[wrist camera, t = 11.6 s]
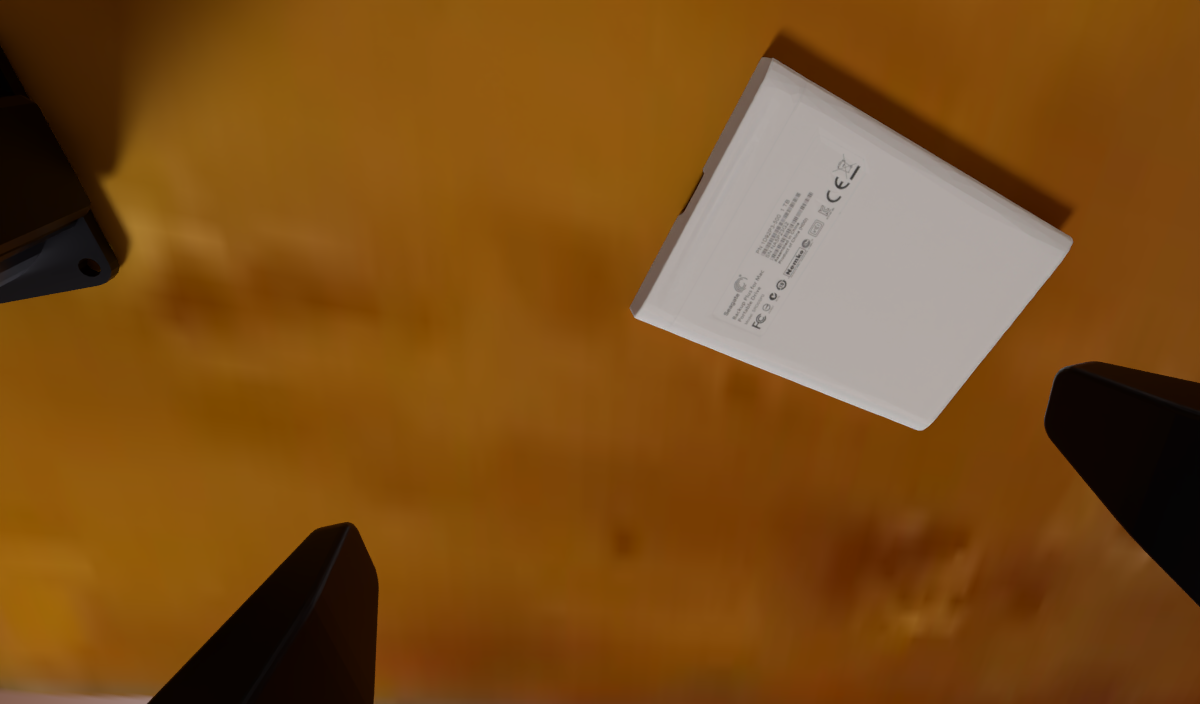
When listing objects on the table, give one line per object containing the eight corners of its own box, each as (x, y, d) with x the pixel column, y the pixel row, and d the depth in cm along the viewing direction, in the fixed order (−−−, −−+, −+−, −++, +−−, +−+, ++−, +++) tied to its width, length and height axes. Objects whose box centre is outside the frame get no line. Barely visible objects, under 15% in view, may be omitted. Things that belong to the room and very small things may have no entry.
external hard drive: (898, 411, 25) (624, 302, 20) (1041, 225, 22) (755, 53, 17) (924, 435, 23) (634, 322, 19) (1080, 240, 20) (778, 56, 16)
